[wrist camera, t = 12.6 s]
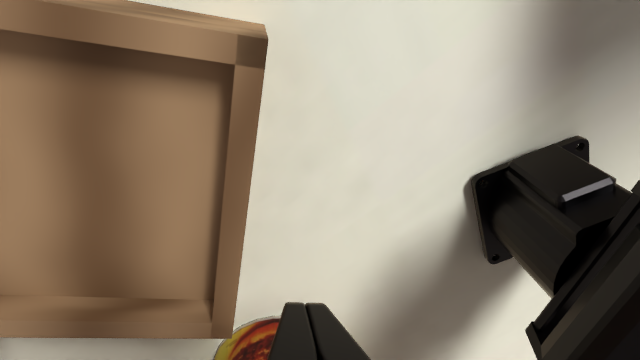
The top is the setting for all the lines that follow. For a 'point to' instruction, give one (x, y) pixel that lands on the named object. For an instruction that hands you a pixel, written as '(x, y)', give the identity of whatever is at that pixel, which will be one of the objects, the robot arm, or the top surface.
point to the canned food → (250, 341)
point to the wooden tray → (124, 168)
